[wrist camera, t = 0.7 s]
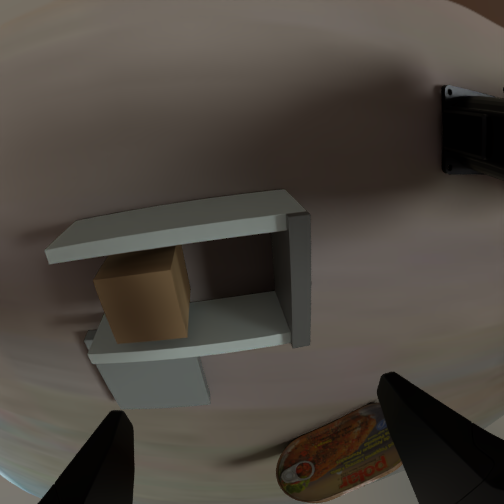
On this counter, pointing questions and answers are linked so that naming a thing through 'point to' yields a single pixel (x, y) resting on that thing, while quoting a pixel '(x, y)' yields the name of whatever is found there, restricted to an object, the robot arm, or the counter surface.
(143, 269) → the block
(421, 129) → the counter surface
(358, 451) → the tin
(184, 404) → the tile
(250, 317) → the grey open rectangular frame
